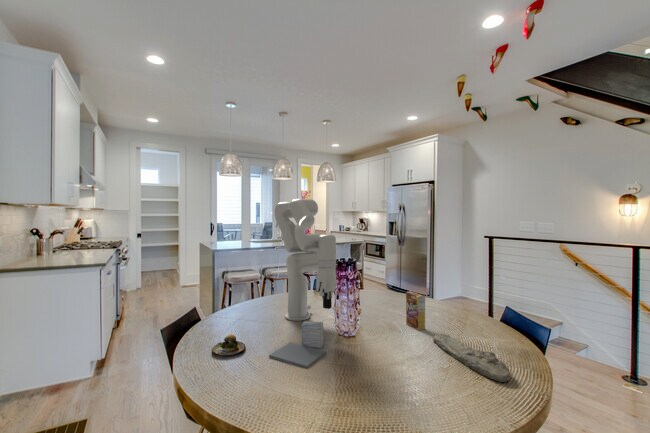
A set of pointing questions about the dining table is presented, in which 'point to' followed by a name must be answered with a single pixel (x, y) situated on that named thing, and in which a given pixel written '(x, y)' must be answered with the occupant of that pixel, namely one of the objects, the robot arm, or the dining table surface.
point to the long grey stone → (474, 358)
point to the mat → (298, 354)
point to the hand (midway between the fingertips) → (327, 308)
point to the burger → (229, 346)
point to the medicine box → (312, 334)
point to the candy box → (415, 310)
